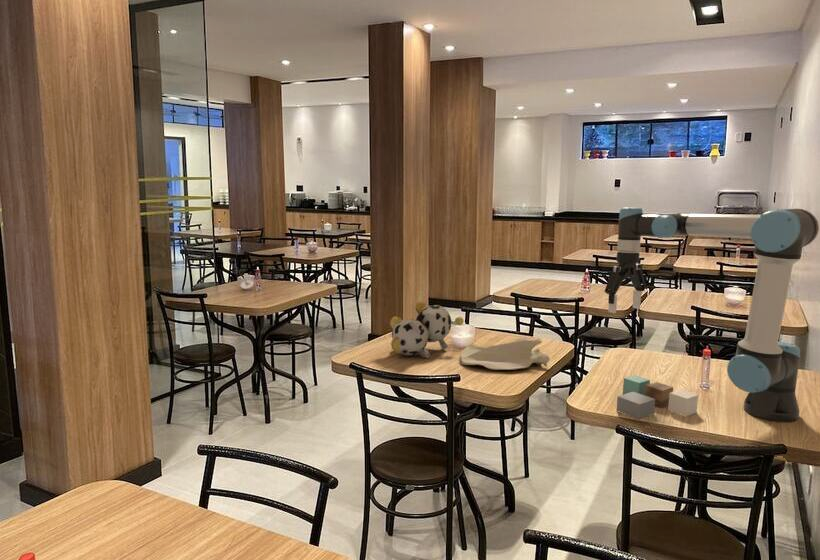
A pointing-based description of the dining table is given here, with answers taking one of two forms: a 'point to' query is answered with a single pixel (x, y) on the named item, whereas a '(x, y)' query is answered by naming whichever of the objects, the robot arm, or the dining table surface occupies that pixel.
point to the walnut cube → (659, 393)
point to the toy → (422, 330)
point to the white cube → (683, 402)
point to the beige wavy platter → (505, 355)
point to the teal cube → (635, 384)
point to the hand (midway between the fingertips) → (624, 310)
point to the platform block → (635, 405)
